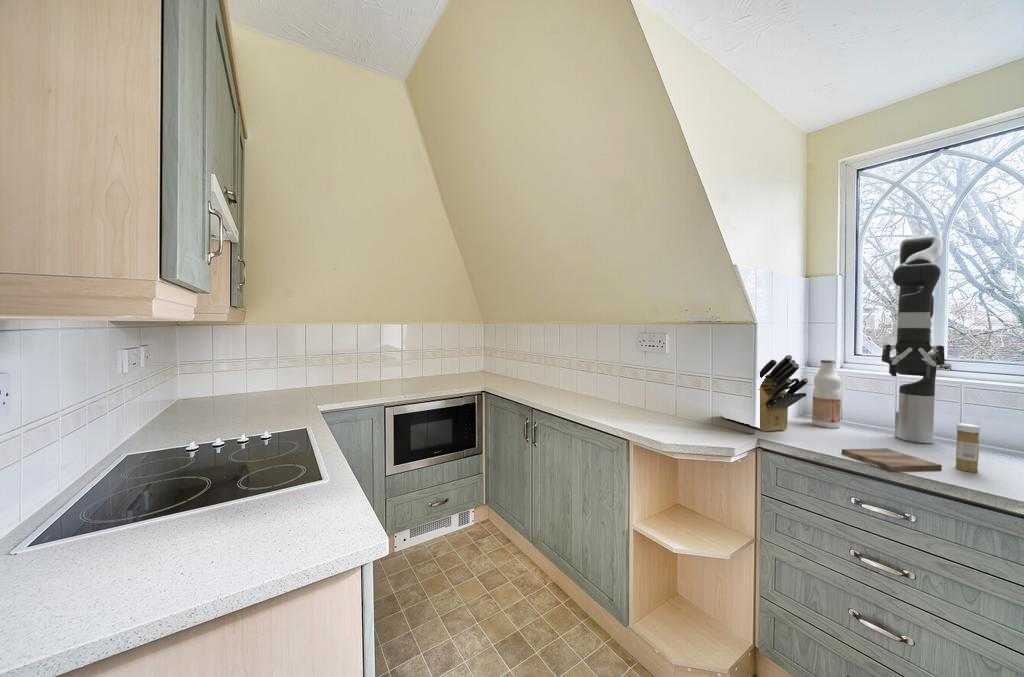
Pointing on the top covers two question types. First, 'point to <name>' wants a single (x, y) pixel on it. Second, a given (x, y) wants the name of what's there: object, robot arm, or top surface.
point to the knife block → (778, 393)
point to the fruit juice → (827, 396)
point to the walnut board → (891, 459)
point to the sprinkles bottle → (967, 447)
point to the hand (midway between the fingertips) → (911, 377)
